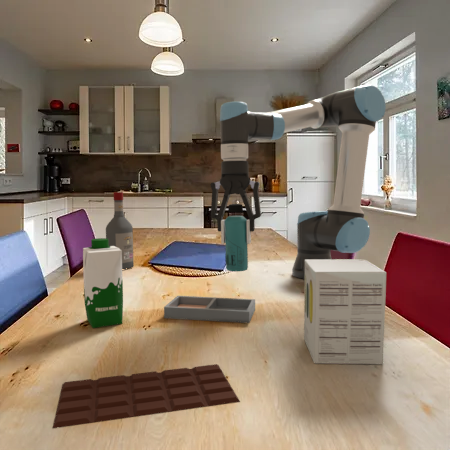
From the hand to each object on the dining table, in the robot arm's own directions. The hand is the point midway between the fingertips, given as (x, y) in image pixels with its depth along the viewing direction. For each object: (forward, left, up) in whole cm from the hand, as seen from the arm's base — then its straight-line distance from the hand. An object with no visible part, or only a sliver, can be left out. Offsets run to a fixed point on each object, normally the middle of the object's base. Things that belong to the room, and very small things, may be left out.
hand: (236, 242), depth 121 cm
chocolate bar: (+5, +56, -17) cm, 59 cm away
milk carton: (+28, +24, -17) cm, 41 cm away
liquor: (+53, -39, -17) cm, 68 cm away
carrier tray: (+4, +13, -17) cm, 22 cm away
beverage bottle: (0, 0, -9) cm, 9 cm away
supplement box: (-27, +32, -17) cm, 45 cm away
